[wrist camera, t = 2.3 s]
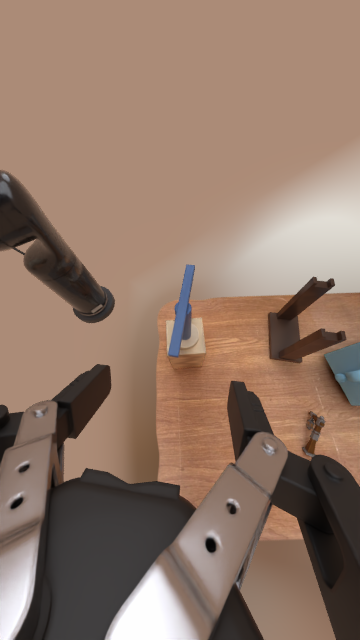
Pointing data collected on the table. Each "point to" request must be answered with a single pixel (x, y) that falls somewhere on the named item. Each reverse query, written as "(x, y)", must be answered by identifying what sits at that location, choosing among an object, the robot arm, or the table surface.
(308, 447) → the hanging lantern post
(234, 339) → the table surface
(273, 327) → the stand
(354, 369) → the teapot
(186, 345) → the bar
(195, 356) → the riser
